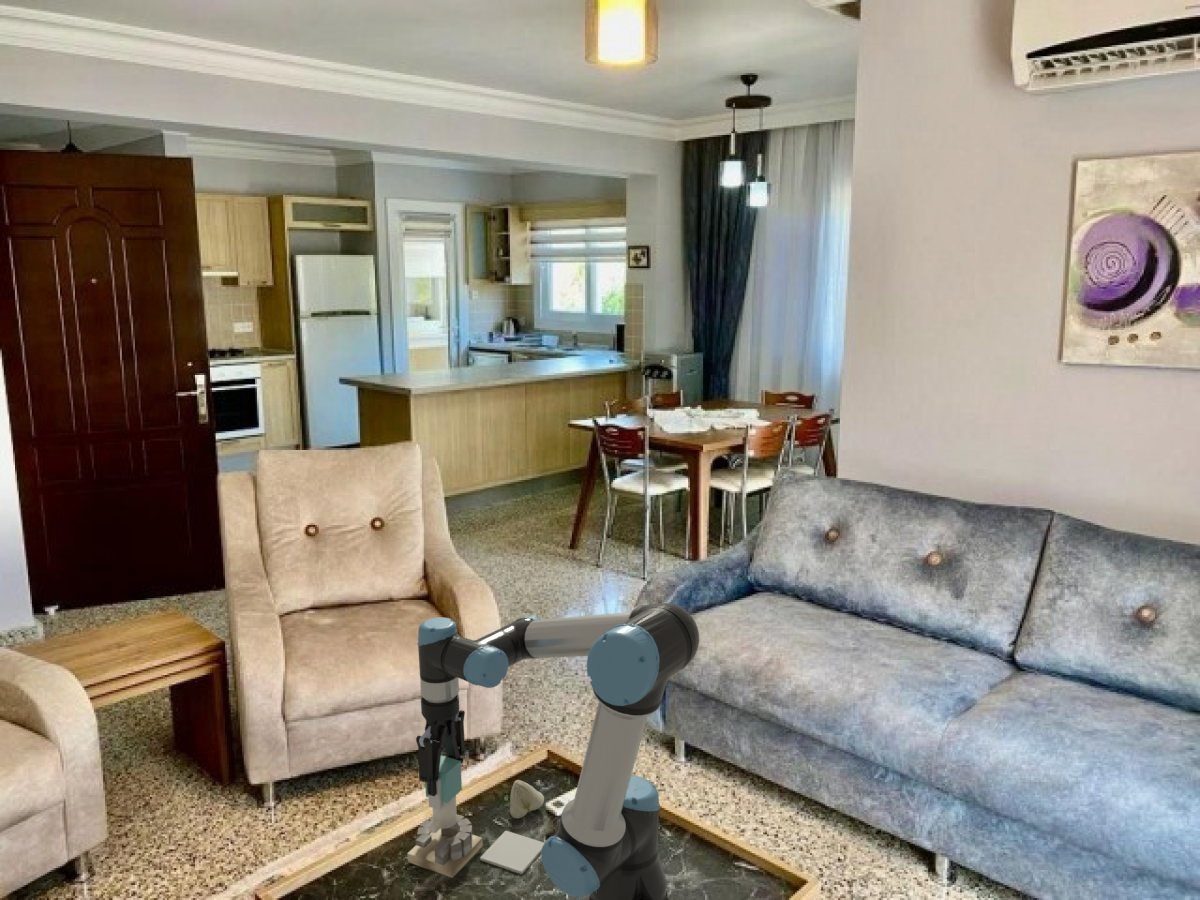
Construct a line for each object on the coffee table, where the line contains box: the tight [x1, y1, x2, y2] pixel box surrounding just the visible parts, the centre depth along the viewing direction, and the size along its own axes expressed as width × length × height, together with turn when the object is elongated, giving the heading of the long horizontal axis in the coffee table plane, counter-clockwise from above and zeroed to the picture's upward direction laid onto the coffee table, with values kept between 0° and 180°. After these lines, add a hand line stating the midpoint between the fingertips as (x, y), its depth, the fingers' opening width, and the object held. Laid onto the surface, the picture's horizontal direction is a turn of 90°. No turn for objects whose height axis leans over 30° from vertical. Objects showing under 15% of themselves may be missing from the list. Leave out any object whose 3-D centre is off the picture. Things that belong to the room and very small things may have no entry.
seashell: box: [509, 779, 545, 819], centre depth 204 cm, size 8×8×8 cm
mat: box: [479, 830, 545, 875], centre depth 190 cm, size 10×10×1 cm
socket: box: [406, 813, 483, 879], centre depth 189 cm, size 11×11×6 cm
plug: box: [424, 755, 463, 833], centre depth 186 cm, size 7×5×13 cm
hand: (444, 799), depth 187 cm, fingers closed on plug, 5 cm apart
